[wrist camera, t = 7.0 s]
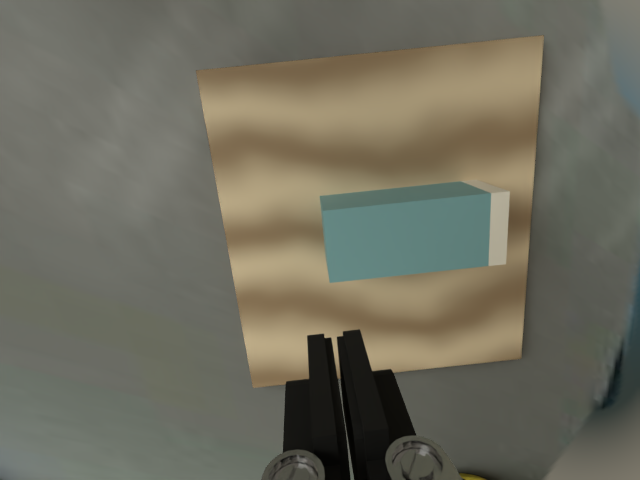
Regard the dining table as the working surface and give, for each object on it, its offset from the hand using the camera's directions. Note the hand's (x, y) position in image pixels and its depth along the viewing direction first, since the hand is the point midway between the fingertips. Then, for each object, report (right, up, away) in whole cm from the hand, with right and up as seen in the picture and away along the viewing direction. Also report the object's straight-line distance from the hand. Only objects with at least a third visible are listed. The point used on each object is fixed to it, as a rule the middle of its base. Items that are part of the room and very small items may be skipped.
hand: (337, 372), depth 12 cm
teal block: (0, +4, +15) cm, 16 cm away
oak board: (+4, +5, +19) cm, 20 cm away
